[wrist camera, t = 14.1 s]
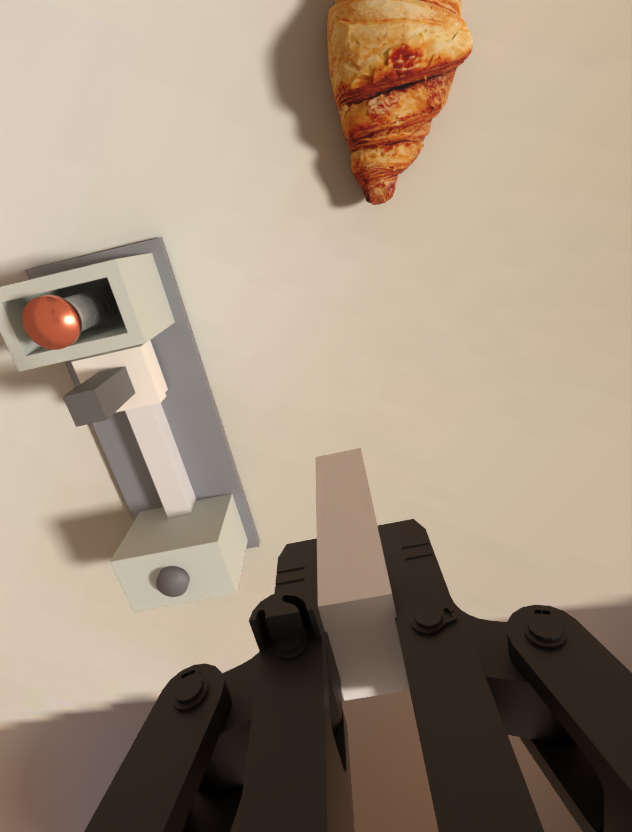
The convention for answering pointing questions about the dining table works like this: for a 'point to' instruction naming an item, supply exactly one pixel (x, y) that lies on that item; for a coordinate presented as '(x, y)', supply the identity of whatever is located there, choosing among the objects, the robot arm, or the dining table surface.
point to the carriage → (115, 383)
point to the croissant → (391, 80)
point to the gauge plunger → (66, 316)
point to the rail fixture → (152, 429)
